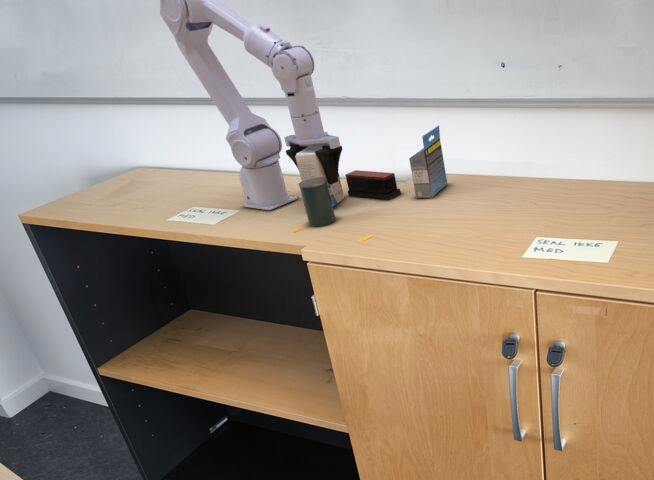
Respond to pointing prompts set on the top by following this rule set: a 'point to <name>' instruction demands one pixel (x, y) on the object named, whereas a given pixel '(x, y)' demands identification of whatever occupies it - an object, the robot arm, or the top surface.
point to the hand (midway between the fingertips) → (321, 181)
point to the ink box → (317, 172)
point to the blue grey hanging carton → (429, 167)
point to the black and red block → (372, 185)
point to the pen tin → (317, 201)
